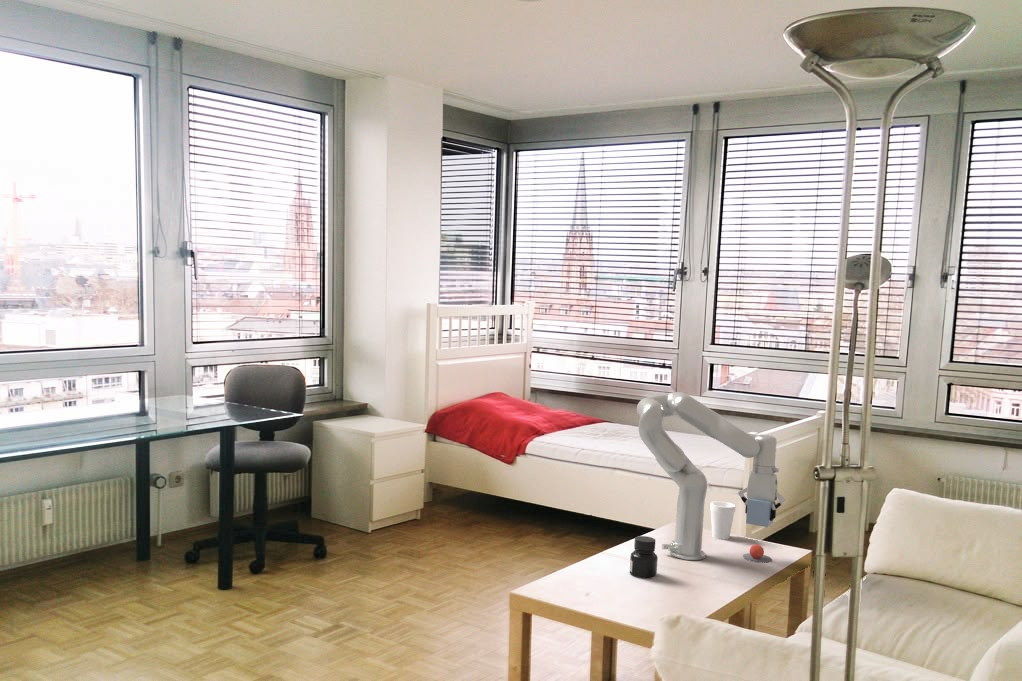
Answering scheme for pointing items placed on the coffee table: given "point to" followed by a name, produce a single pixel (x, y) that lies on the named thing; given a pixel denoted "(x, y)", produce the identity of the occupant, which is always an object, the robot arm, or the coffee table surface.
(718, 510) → the foam cup
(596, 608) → the coffee table surface
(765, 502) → the blue box
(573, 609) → the coffee table surface
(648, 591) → the coffee table surface
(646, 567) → the ink bottle
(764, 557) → the disc
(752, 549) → the ball
